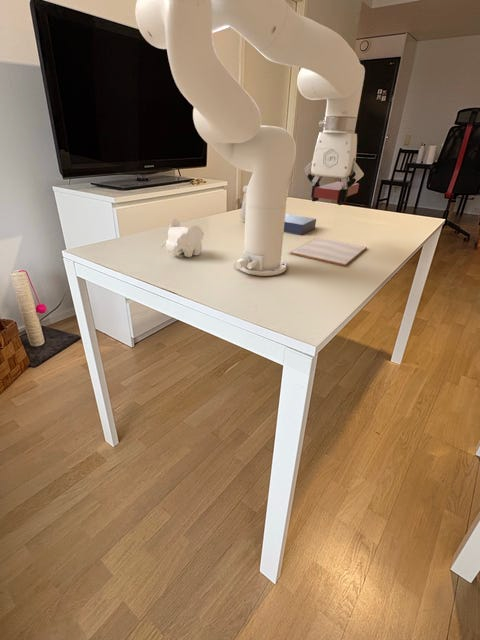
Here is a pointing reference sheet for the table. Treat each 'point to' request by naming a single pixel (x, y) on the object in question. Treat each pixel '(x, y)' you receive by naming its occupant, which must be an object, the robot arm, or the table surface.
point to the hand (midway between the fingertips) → (327, 202)
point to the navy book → (298, 224)
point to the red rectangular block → (333, 190)
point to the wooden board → (330, 251)
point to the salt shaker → (243, 204)
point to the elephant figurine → (184, 239)
